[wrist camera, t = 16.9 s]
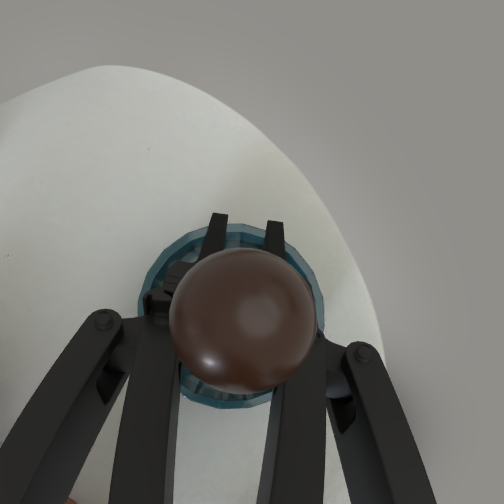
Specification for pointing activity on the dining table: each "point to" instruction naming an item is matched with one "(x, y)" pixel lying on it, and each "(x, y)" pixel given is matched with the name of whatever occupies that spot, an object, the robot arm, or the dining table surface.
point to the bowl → (189, 252)
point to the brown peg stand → (242, 320)
